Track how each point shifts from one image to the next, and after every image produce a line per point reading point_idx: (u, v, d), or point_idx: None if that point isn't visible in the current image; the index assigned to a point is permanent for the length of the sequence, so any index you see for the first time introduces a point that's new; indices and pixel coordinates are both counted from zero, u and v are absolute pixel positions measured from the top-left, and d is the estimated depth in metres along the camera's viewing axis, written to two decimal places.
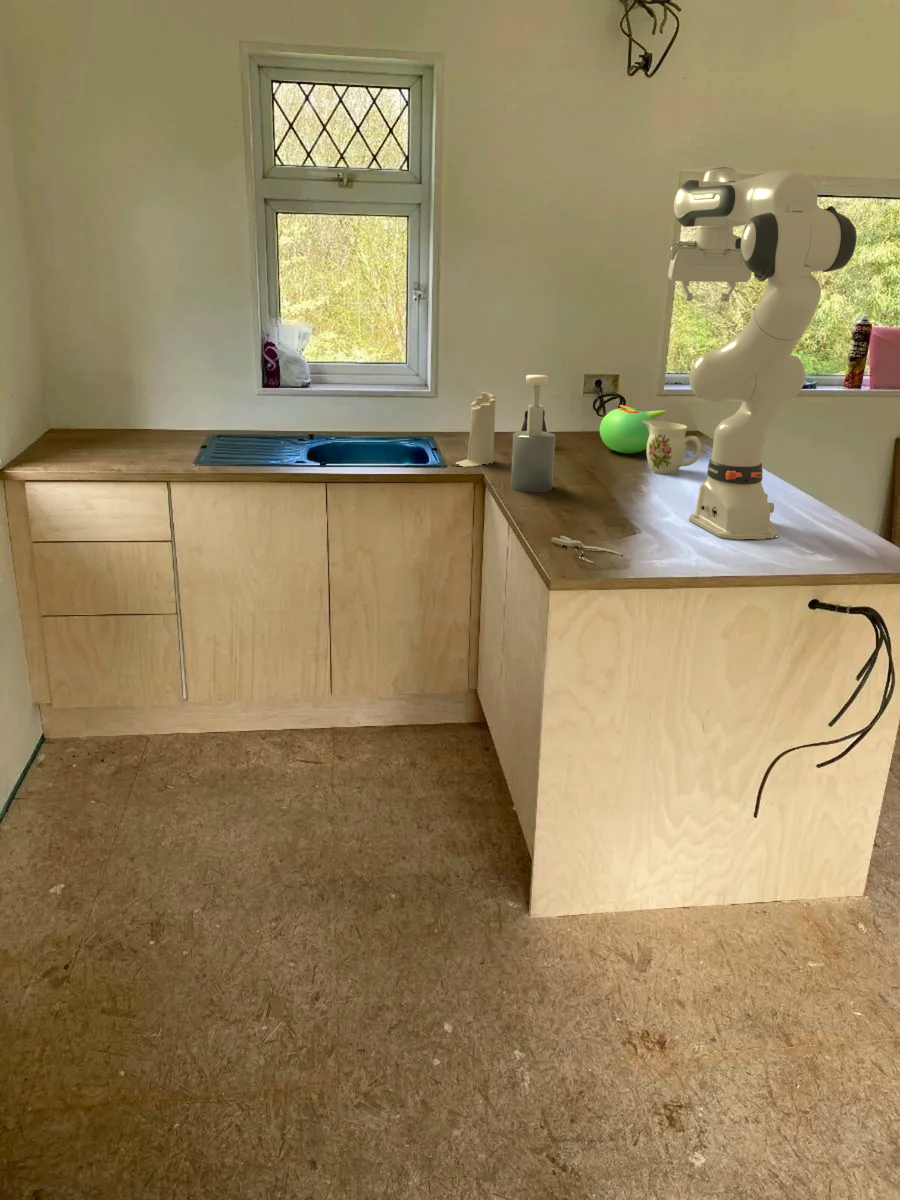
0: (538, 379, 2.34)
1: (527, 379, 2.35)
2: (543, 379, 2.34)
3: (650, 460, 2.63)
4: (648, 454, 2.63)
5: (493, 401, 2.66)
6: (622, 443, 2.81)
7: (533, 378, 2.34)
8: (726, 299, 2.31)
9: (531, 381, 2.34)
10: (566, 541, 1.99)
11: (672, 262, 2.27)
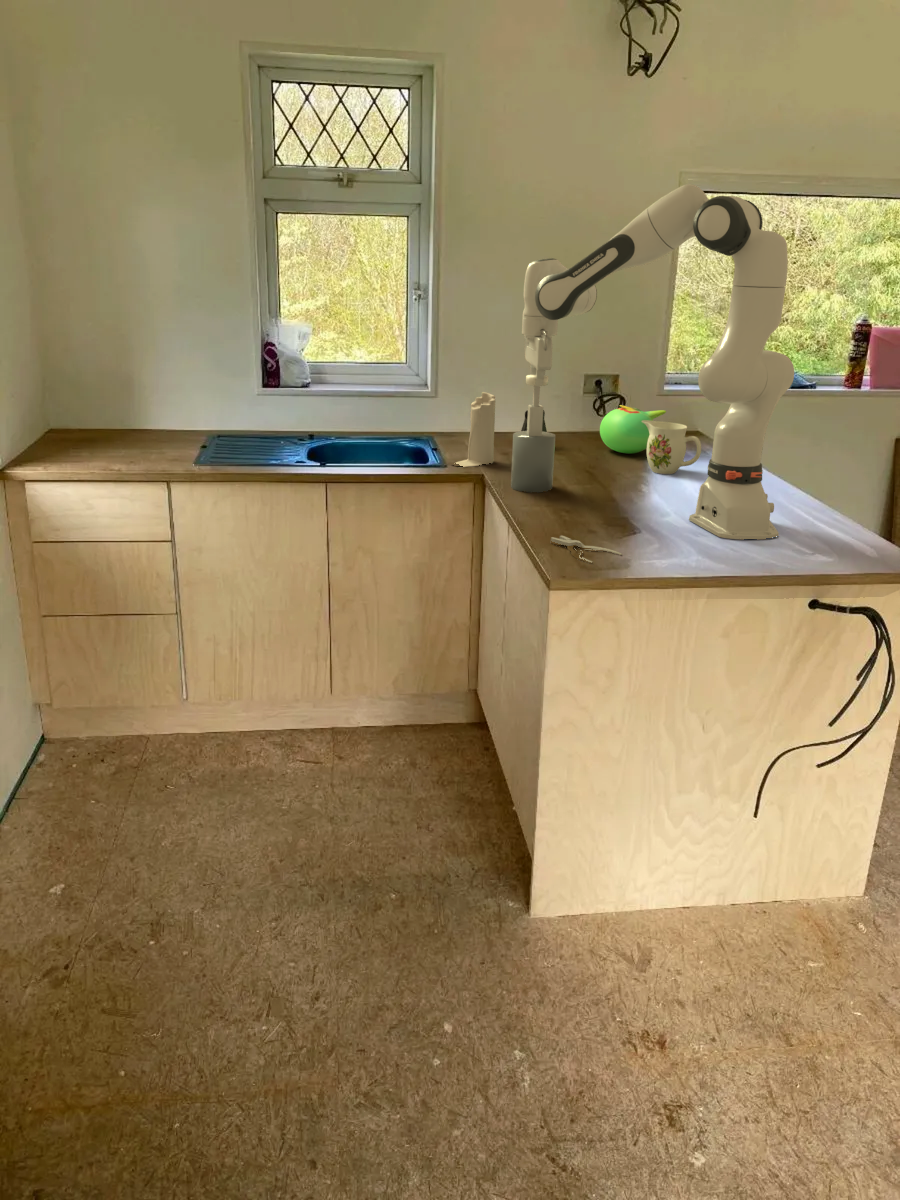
0: None
1: (527, 379, 2.35)
2: None
3: (650, 460, 2.63)
4: (648, 454, 2.63)
5: (493, 401, 2.66)
6: (622, 443, 2.81)
7: (533, 378, 2.34)
8: None
9: (531, 381, 2.34)
10: (565, 541, 1.99)
11: (546, 352, 2.25)
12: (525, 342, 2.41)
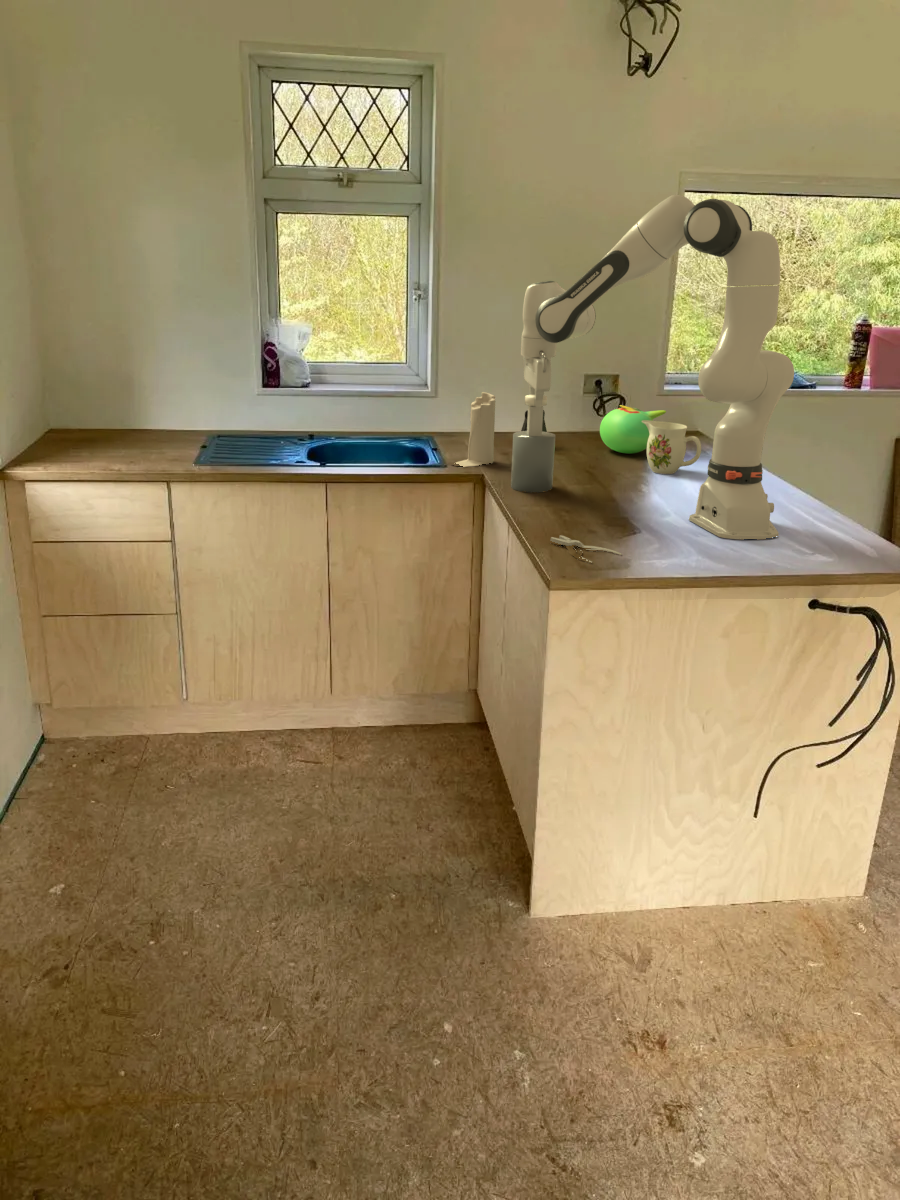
0: None
1: (526, 399, 2.37)
2: None
3: (650, 460, 2.63)
4: (648, 454, 2.63)
5: (493, 401, 2.66)
6: (622, 443, 2.81)
7: (532, 398, 2.36)
8: None
9: (530, 402, 2.36)
10: (565, 541, 1.99)
11: (545, 374, 2.26)
12: (524, 362, 2.43)
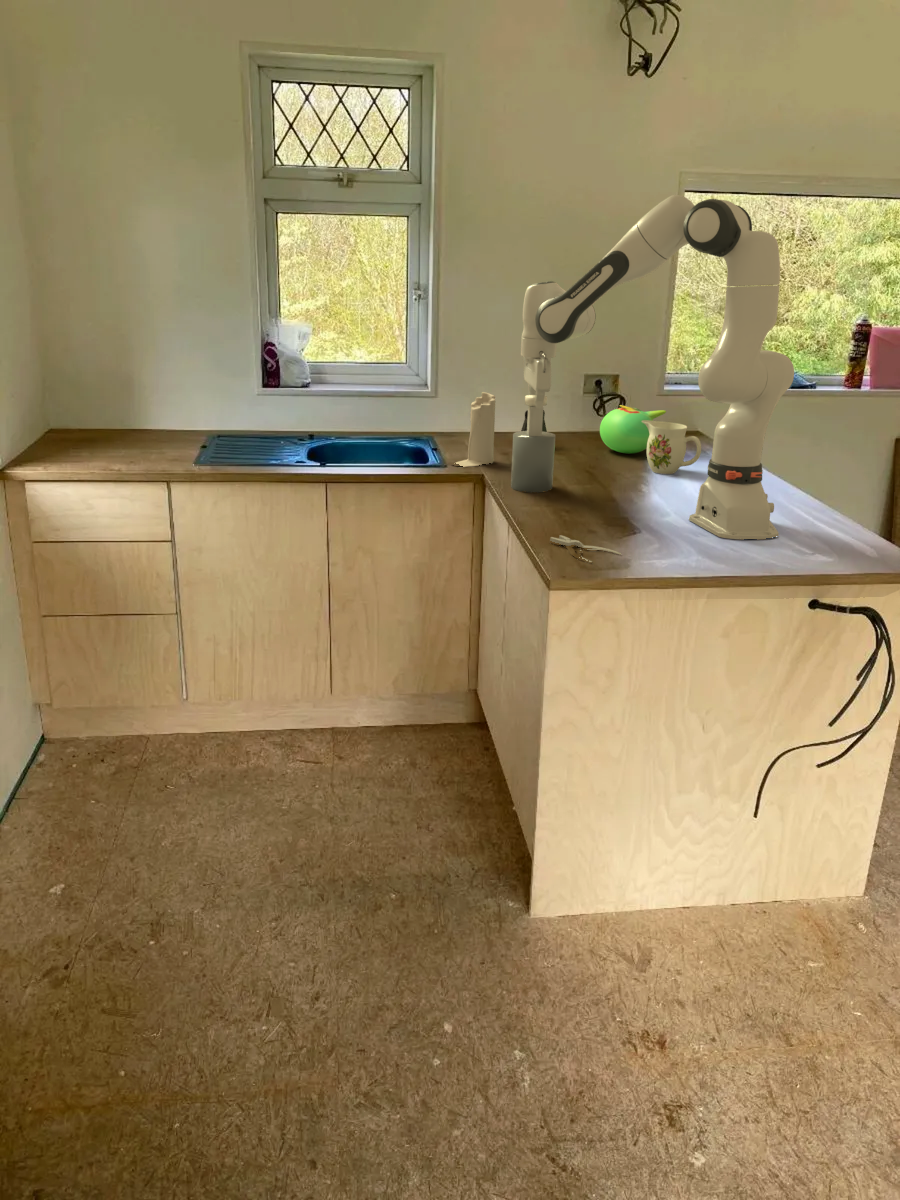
0: None
1: (526, 399, 2.37)
2: None
3: (650, 460, 2.63)
4: (648, 454, 2.63)
5: (493, 401, 2.66)
6: (622, 443, 2.81)
7: (532, 398, 2.36)
8: None
9: (530, 402, 2.36)
10: (565, 541, 1.99)
11: (545, 374, 2.26)
12: (524, 363, 2.43)
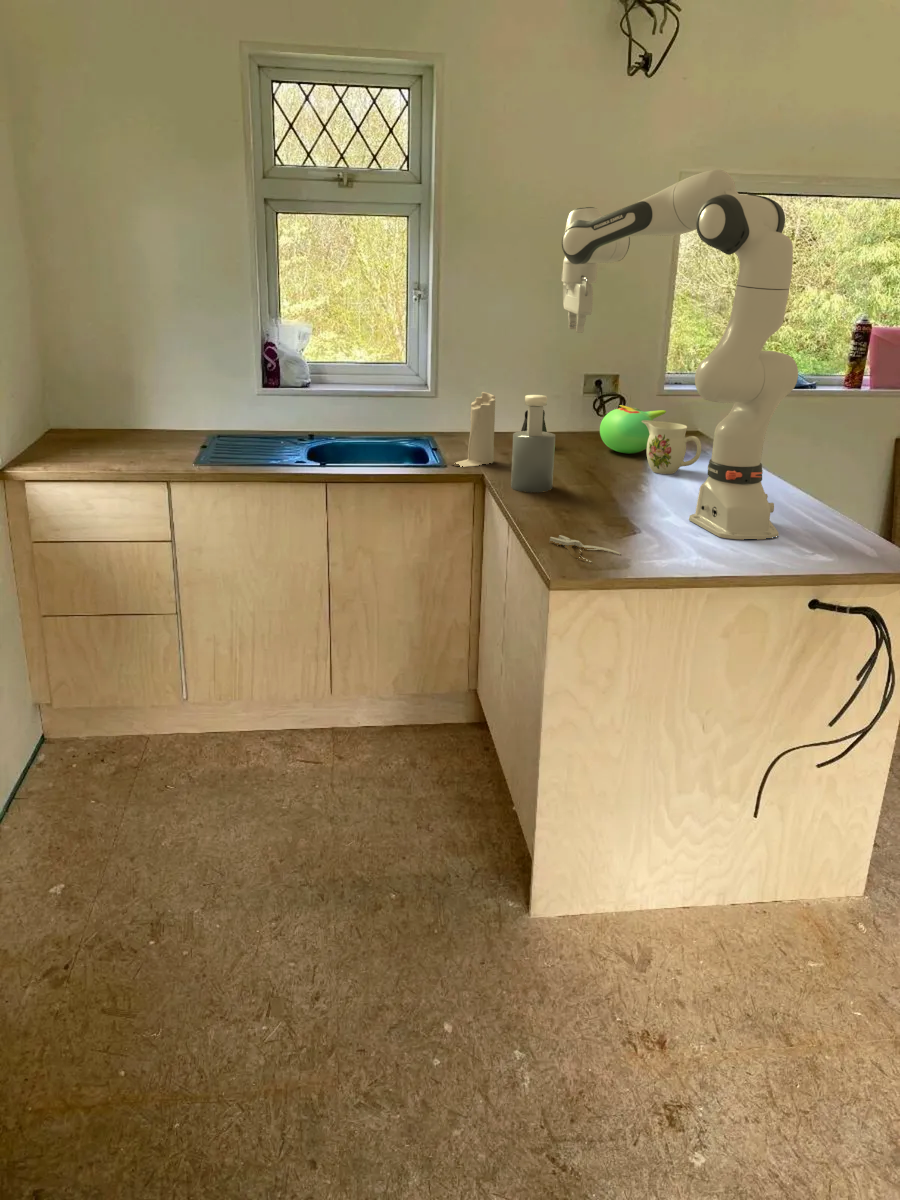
0: (537, 399, 2.36)
1: (526, 399, 2.37)
2: (542, 399, 2.36)
3: (650, 460, 2.63)
4: (648, 454, 2.63)
5: (493, 401, 2.66)
6: (622, 443, 2.81)
7: (532, 398, 2.36)
8: None
9: (530, 402, 2.36)
10: (565, 540, 1.99)
11: (587, 297, 2.33)
12: (564, 291, 2.50)
